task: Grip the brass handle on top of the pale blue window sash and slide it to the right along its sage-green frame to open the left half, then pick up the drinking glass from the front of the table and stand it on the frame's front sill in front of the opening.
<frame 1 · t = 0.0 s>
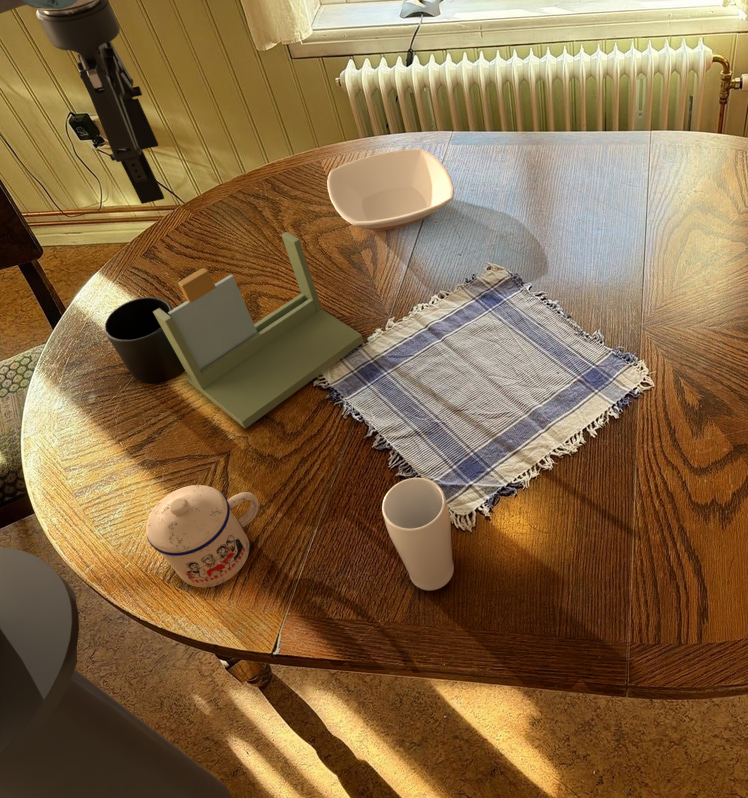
hand: (150, 172, 98), 27 cm above the table, tool pointing down, fingers open, 13 cm apart
mug: (159, 359, 114), on the table
bowl: (394, 209, 138), on the table
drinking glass: (432, 572, 89), on the table
window frame: (262, 350, 114), on the table
teacup with lid: (225, 550, 92), on the table
sash: (214, 320, 105), point 10 cm above the table, slide at 0.0 cm
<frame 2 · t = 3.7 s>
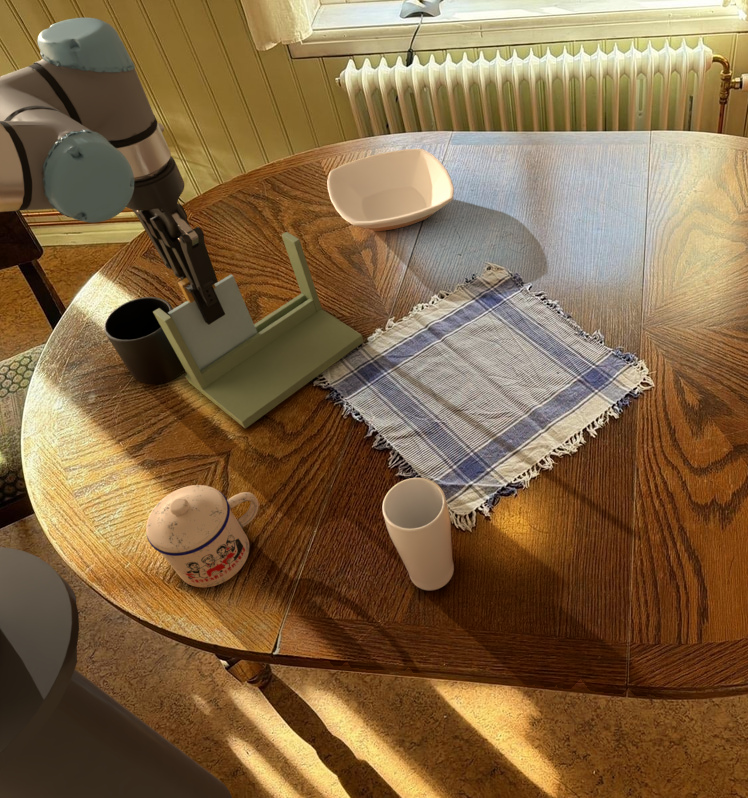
hand: (211, 315, 104), 11 cm above the table, tool pointing down, fingers closed on sash
sash: (214, 320, 105), point 10 cm above the table, slide at 0.0 cm, touching gripper
everything else where it was.
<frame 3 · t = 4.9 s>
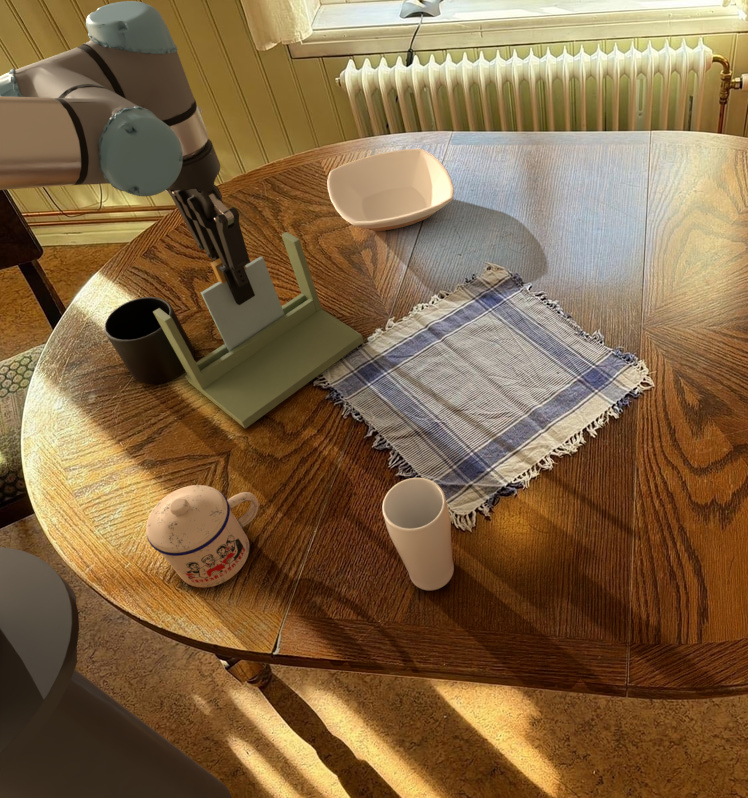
hand: (241, 296, 106), 11 cm above the table, tool pointing down, fingers closed on sash
sash: (244, 301, 107), point 10 cm above the table, slide at 5.1 cm, touching gripper
everything else where it was.
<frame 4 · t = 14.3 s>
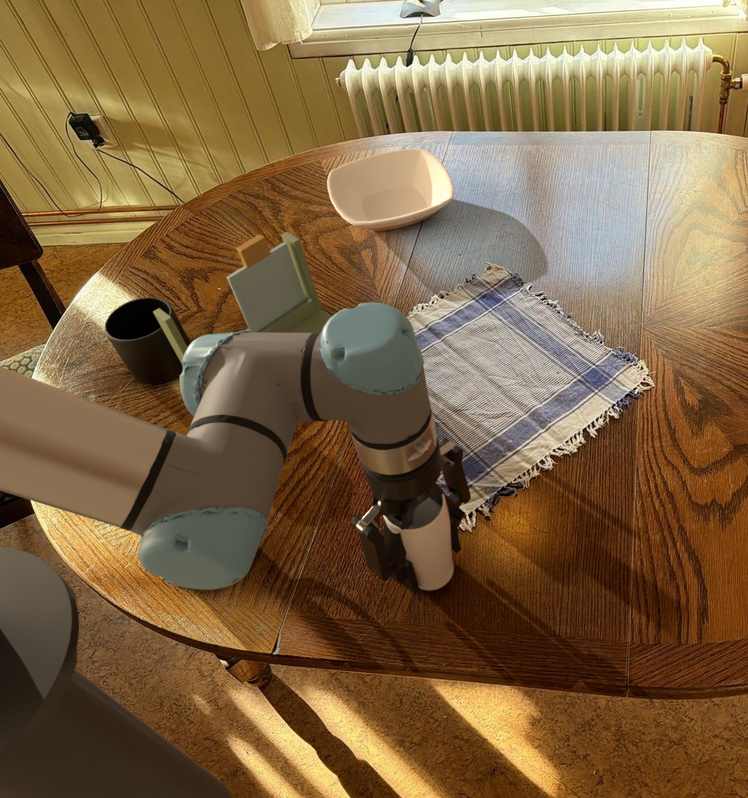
hand: (430, 564, 88), 2 cm above the table, tool pointing down, fingers closed on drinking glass, 6 cm apart
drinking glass: (432, 572, 89), on the table, touching gripper
sash: (267, 286, 109), point 10 cm above the table, slide at 9.2 cm
everything else where it was.
when the fingers open (3 cm above the table, at t = 24.8 s): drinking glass stays where it is, resting on window frame.
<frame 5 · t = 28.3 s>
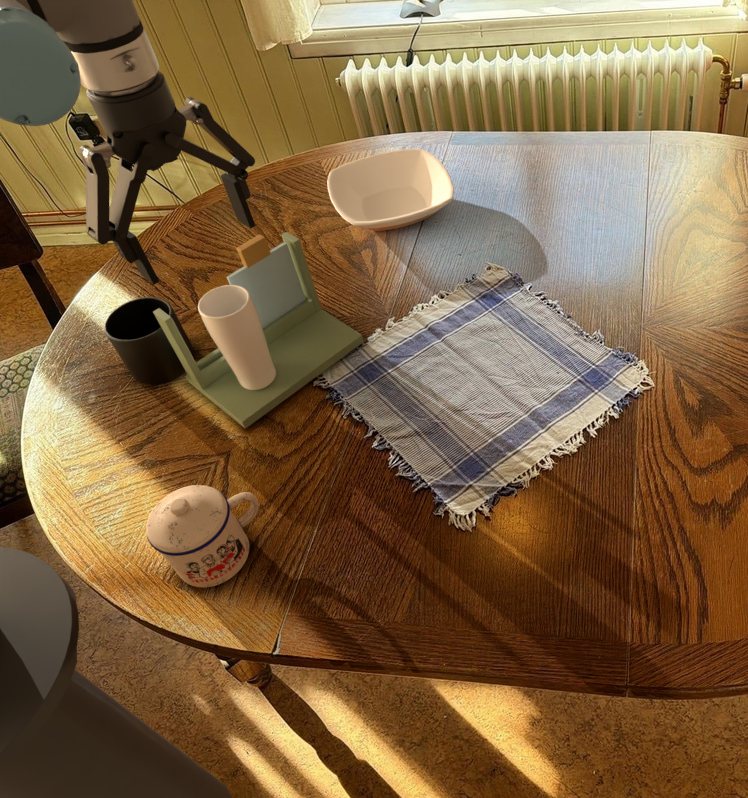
hand: (200, 250, 91), 25 cm above the table, tool pointing down, fingers open, 13 cm apart
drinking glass: (259, 379, 108), point 1 cm above the table, touching window frame
everything else where it was.
at the end: sash slide at 9.2 cm; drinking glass inside the target area on the window frame (0.2 cm from its centre), point 1.3 cm above the window frame's base; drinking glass tilted 0° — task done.
